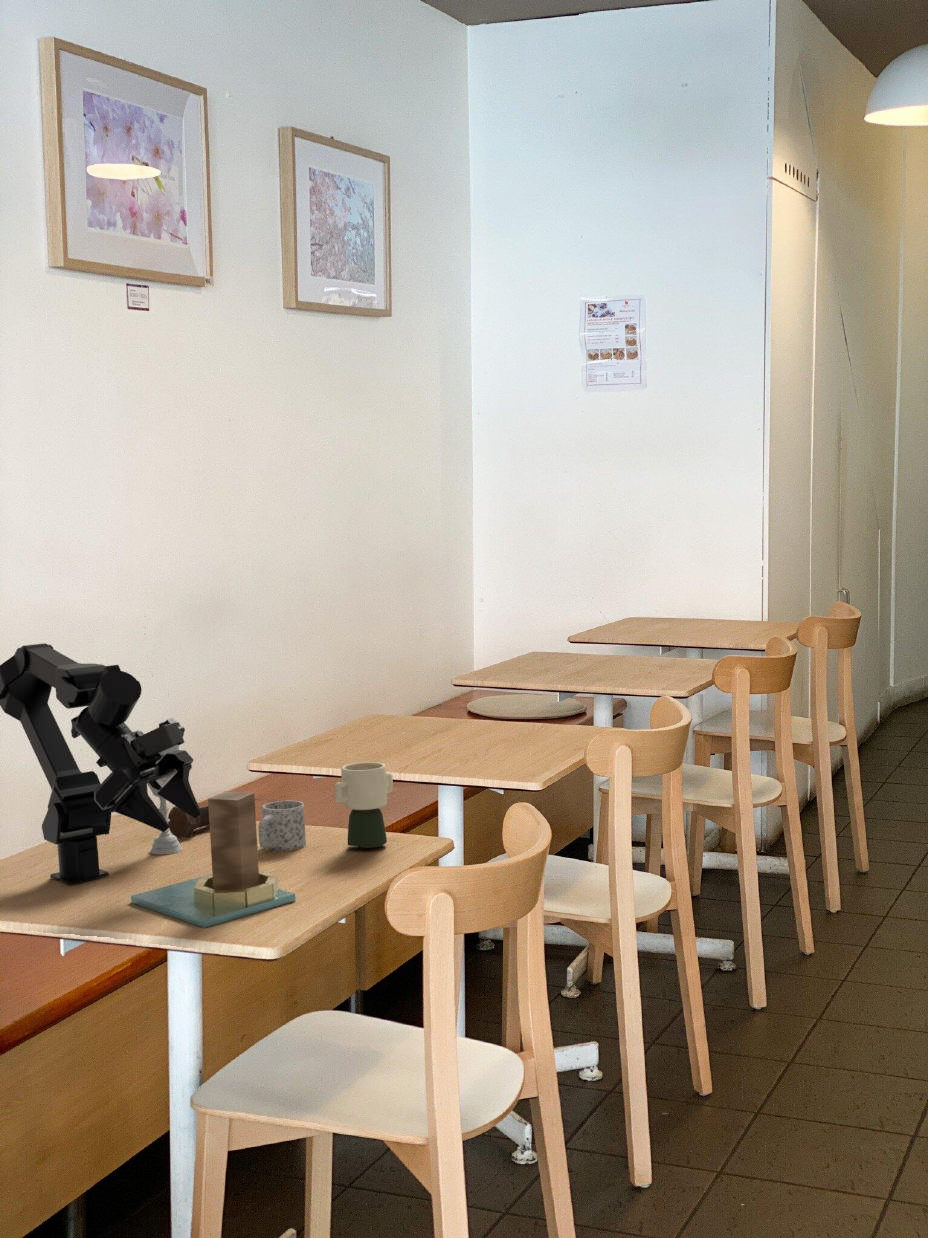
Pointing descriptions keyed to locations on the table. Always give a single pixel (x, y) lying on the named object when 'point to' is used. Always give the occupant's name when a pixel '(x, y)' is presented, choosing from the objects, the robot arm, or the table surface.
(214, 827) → the peg
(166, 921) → the table surface
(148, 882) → the table surface
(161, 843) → the chalice
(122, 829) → the table surface
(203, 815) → the bolt
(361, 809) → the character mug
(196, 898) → the socket plate
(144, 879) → the table surface
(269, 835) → the mug
